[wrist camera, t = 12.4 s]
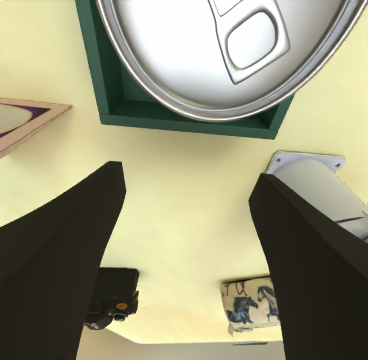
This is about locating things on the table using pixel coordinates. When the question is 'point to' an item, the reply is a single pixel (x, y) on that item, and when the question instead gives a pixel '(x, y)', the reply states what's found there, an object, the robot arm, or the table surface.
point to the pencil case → (250, 305)
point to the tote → (145, 104)
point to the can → (226, 49)
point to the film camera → (112, 297)
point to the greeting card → (24, 121)
